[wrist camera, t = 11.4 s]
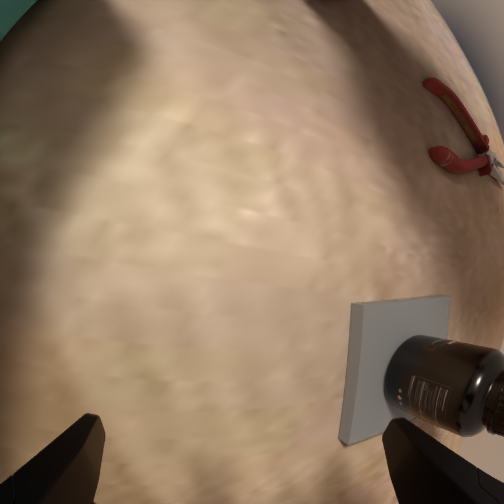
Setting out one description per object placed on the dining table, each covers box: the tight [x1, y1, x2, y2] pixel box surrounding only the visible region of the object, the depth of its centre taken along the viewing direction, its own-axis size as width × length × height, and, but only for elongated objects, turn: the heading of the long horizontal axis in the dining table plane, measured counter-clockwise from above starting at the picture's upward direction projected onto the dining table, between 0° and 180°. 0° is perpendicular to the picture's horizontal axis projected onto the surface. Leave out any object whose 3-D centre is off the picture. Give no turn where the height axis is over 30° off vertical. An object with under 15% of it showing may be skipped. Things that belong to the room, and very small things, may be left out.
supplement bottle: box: [384, 335, 504, 437], centre depth 18 cm, size 7×7×12 cm
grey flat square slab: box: [338, 295, 450, 445], centre depth 25 cm, size 12×12×2 cm
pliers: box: [423, 77, 504, 185], centre depth 31 cm, size 12×20×3 cm, turn 80°
